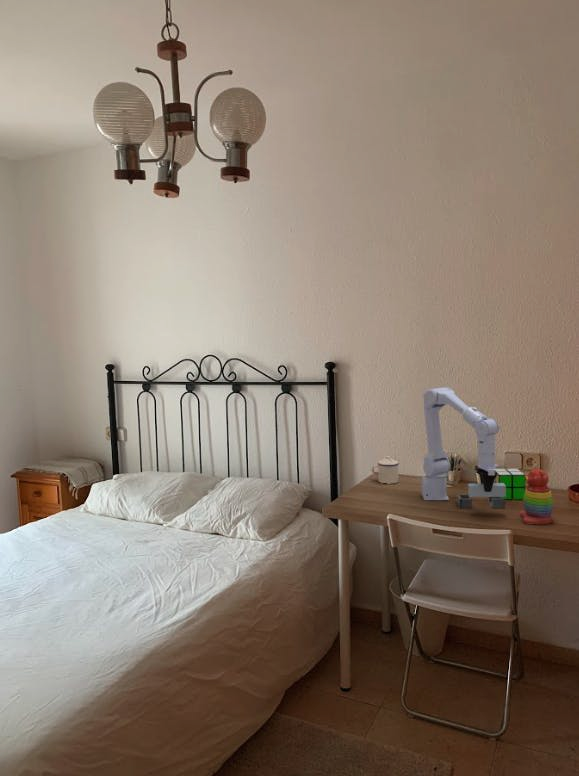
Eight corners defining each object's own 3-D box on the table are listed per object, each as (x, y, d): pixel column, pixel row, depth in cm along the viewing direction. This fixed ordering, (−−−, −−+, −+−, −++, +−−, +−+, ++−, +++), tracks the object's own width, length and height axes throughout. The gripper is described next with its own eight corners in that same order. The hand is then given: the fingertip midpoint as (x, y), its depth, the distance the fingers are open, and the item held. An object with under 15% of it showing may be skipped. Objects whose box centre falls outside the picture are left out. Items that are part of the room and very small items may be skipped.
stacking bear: (518, 514, 202) (518, 465, 200) (548, 515, 200) (549, 466, 198) (524, 524, 192) (524, 473, 190) (556, 525, 190) (557, 473, 188)
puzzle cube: (517, 492, 228) (517, 468, 227) (525, 500, 218) (525, 474, 217) (492, 492, 229) (492, 468, 228) (498, 500, 219) (498, 474, 218)
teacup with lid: (400, 480, 252) (400, 454, 251) (396, 485, 244) (395, 459, 243) (374, 478, 257) (374, 453, 256) (369, 483, 249) (368, 457, 248)
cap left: (459, 508, 211) (459, 499, 211) (456, 502, 217) (456, 494, 217) (472, 508, 211) (472, 499, 210) (468, 502, 217) (468, 494, 217)
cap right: (500, 502, 216) (500, 494, 215) (504, 508, 209) (504, 499, 209) (488, 502, 216) (488, 494, 216) (492, 508, 210) (492, 499, 209)
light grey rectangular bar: (470, 497, 202) (469, 486, 201) (468, 494, 205) (467, 483, 205) (505, 496, 200) (505, 485, 200) (503, 493, 204) (503, 483, 203)
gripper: (503, 457, 194) (503, 495, 195) (493, 448, 208) (493, 484, 209) (482, 457, 194) (482, 495, 196) (473, 448, 209) (473, 484, 210)
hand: (486, 490), depth 203 cm, fingers closed on light grey rectangular bar, 3 cm apart
